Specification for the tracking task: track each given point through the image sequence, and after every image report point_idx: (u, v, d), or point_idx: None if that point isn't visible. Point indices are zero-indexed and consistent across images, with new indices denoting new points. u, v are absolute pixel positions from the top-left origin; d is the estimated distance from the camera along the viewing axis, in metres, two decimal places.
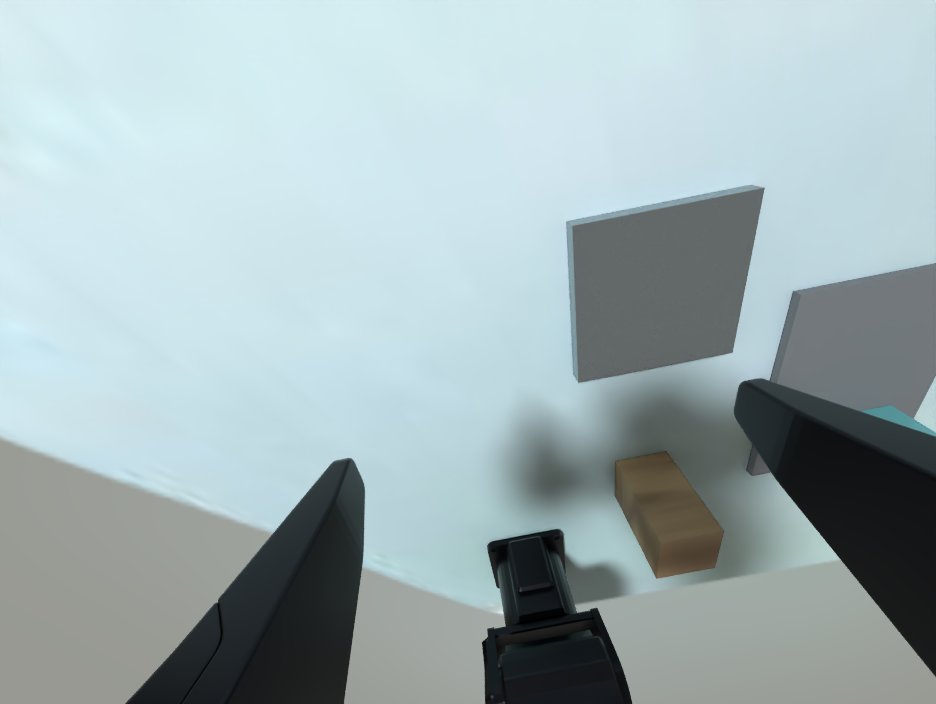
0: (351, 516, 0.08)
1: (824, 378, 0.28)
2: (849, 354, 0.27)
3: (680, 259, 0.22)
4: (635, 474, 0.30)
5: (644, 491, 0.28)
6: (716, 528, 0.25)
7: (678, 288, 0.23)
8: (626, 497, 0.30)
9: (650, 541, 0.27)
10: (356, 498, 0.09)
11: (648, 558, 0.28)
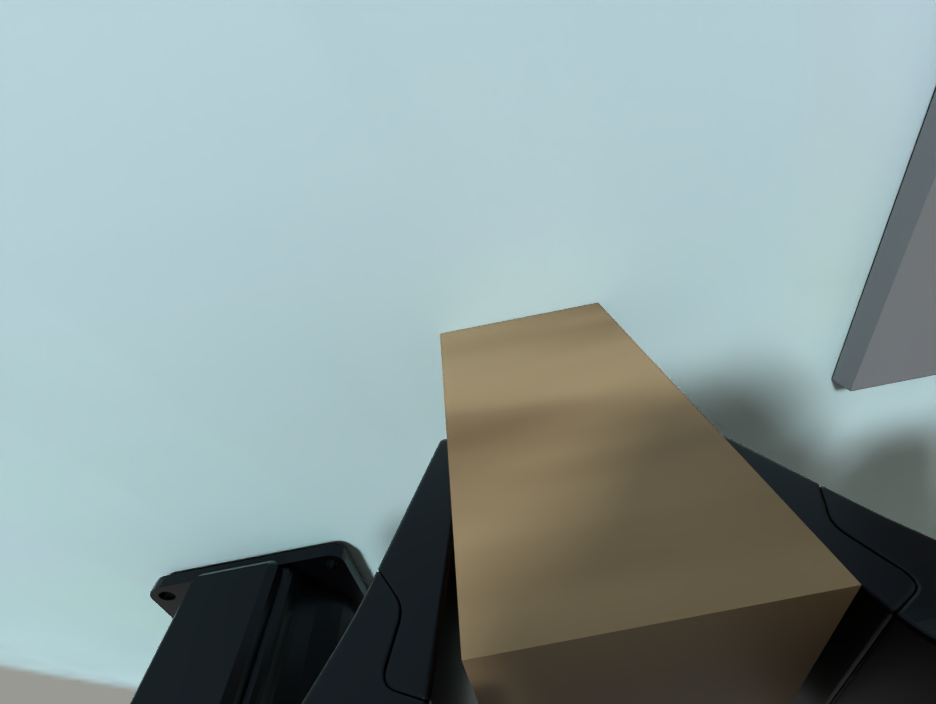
0: None
1: None
2: None
3: None
4: (481, 360, 0.09)
5: (490, 404, 0.07)
6: (809, 566, 0.04)
7: None
8: None
9: None
10: None
11: None
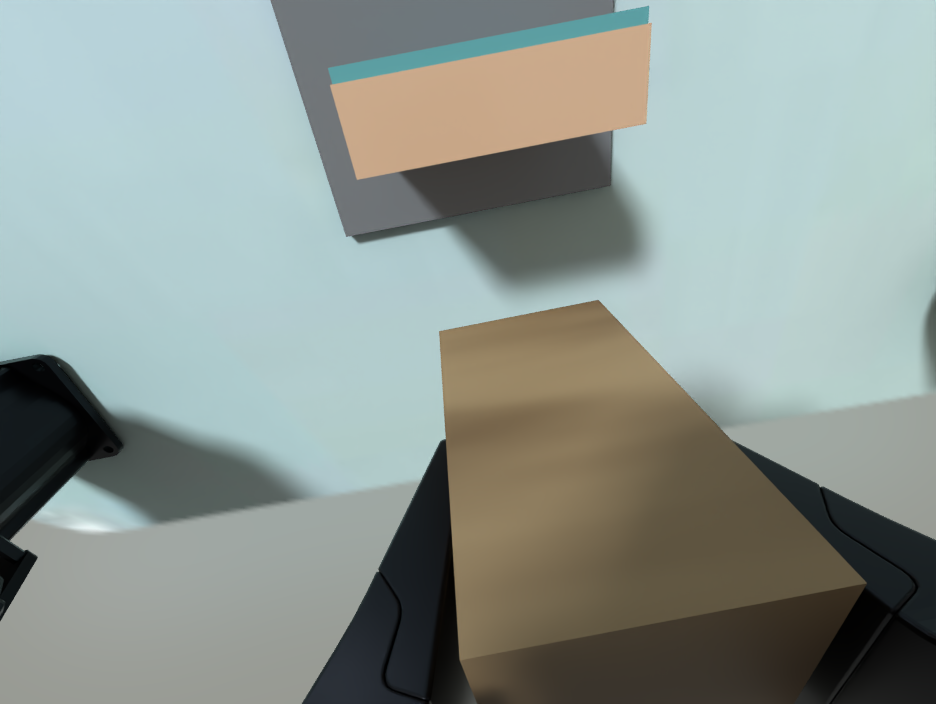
0: None
1: None
2: None
3: None
4: (480, 357, 0.09)
5: (489, 401, 0.07)
6: (813, 564, 0.04)
7: None
8: None
9: None
10: None
11: None
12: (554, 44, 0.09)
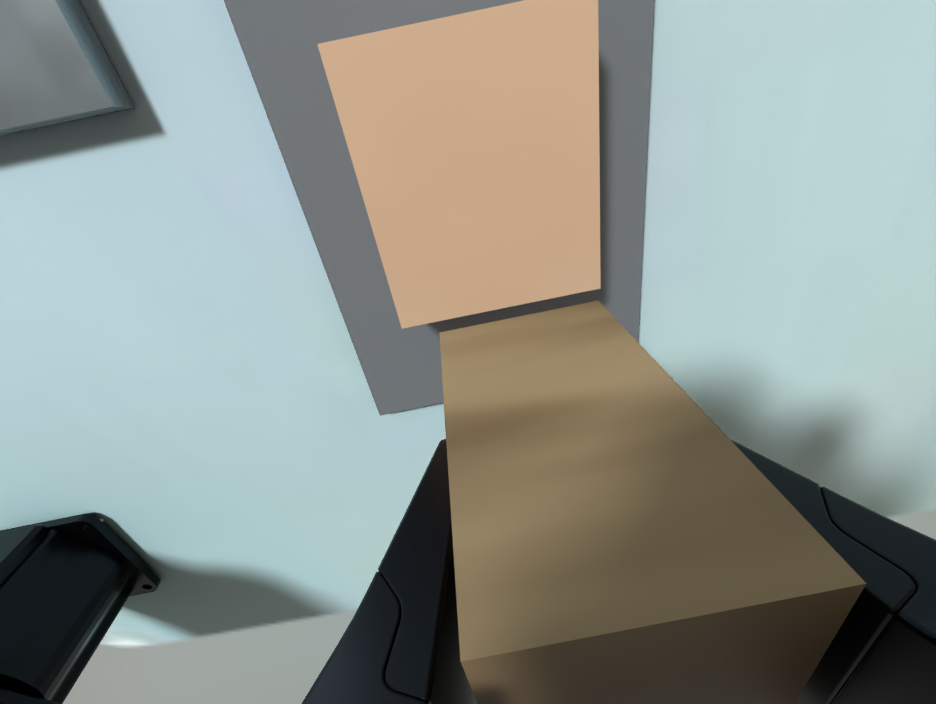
0: None
1: None
2: None
3: None
4: (480, 358, 0.09)
5: (489, 402, 0.07)
6: (813, 565, 0.04)
7: None
8: None
9: None
10: None
11: None
12: None
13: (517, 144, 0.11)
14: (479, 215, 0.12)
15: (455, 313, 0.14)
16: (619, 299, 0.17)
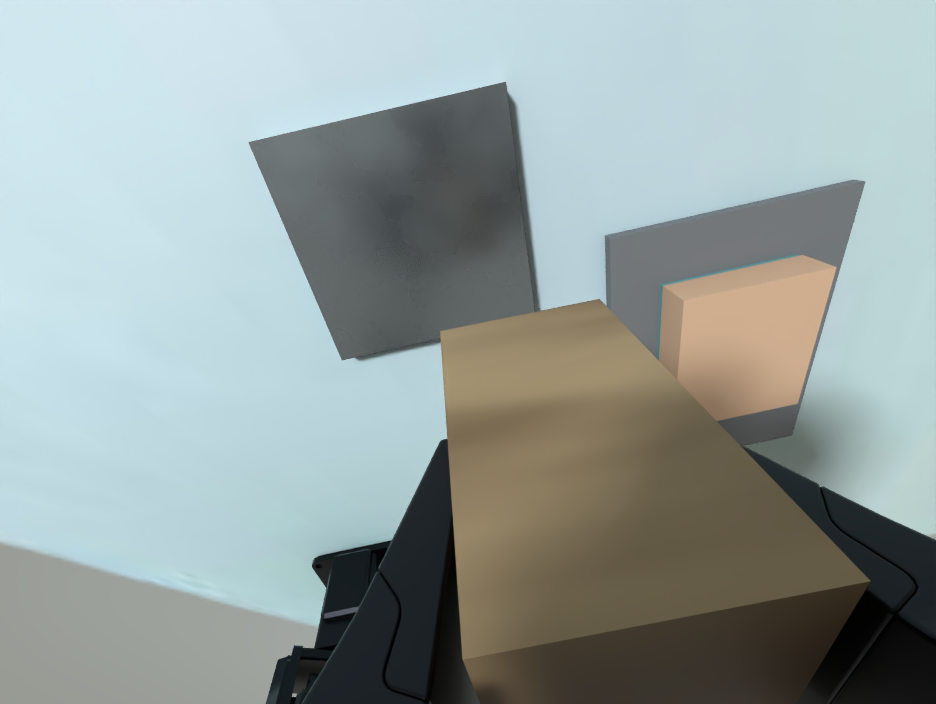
0: None
1: None
2: None
3: (420, 189, 0.17)
4: (481, 357, 0.09)
5: (490, 401, 0.07)
6: (816, 562, 0.04)
7: (431, 230, 0.18)
8: None
9: None
10: None
11: None
12: (760, 264, 0.20)
13: (772, 336, 0.20)
14: (739, 370, 0.21)
15: None
16: None
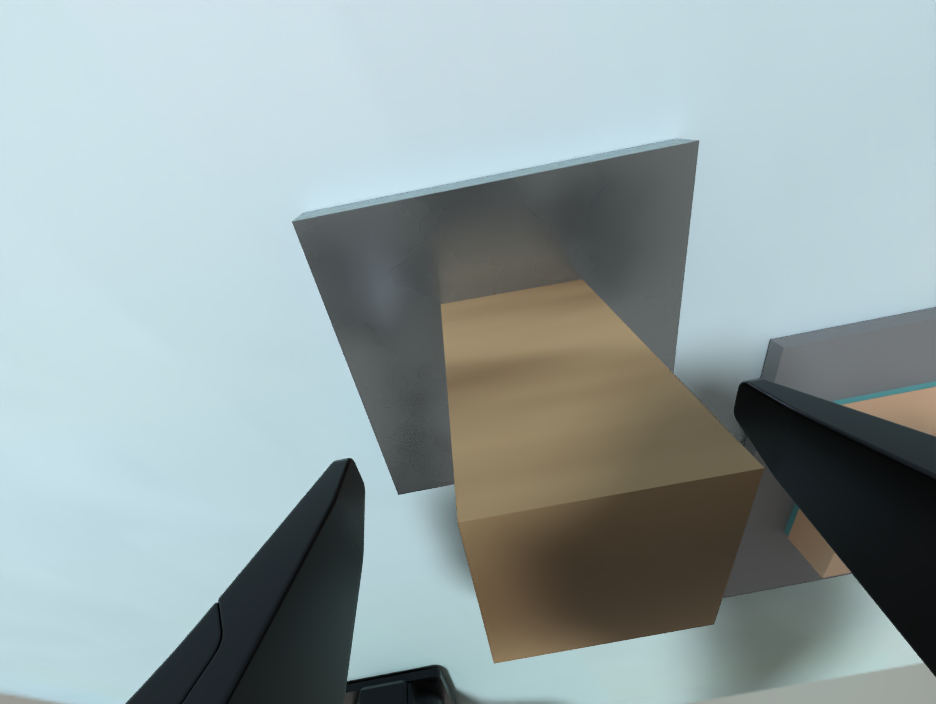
0: (351, 516, 0.08)
1: None
2: None
3: None
4: (477, 324, 0.10)
5: (484, 356, 0.08)
6: (728, 458, 0.05)
7: None
8: None
9: None
10: (356, 498, 0.09)
11: None
12: None
13: None
14: None
15: None
16: None
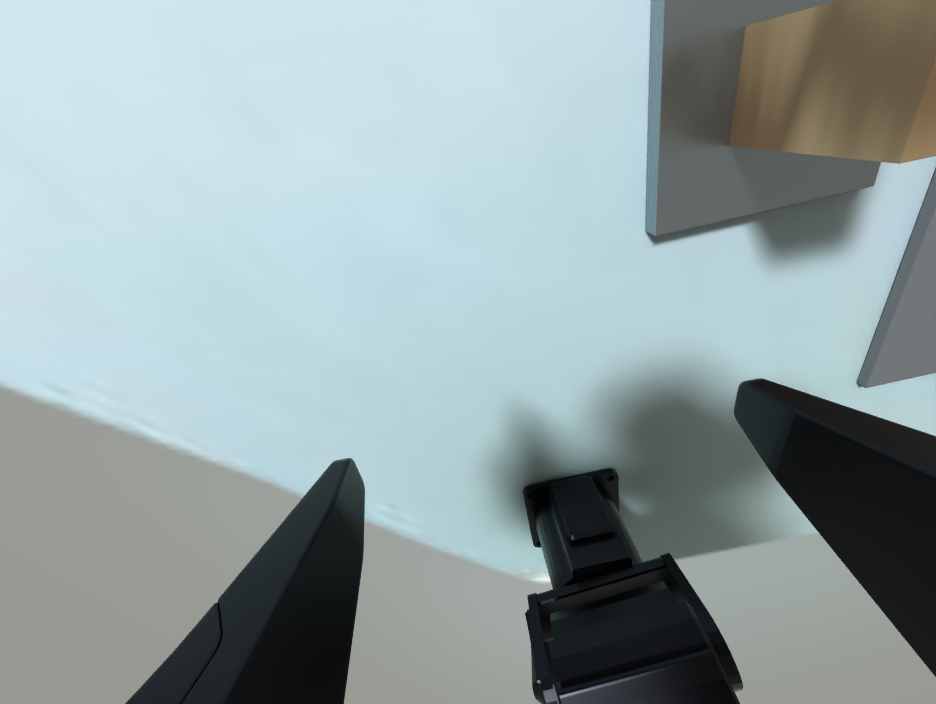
0: (351, 516, 0.08)
1: None
2: None
3: None
4: None
5: None
6: None
7: None
8: (779, 76, 0.14)
9: (889, 58, 0.10)
10: (356, 498, 0.09)
11: (863, 142, 0.12)
12: None
13: None
14: None
15: None
16: None
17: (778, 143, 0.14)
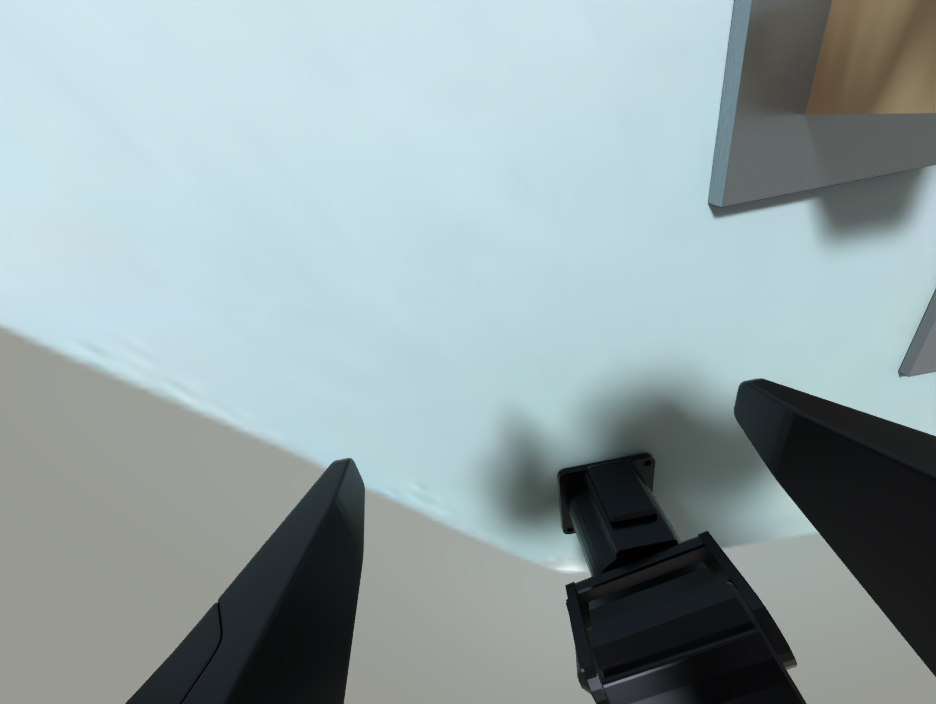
0: (351, 516, 0.08)
1: None
2: None
3: None
4: None
5: None
6: None
7: None
8: (874, 35, 0.14)
9: None
10: (356, 498, 0.09)
11: None
12: None
13: None
14: None
15: None
16: None
17: (867, 105, 0.14)
